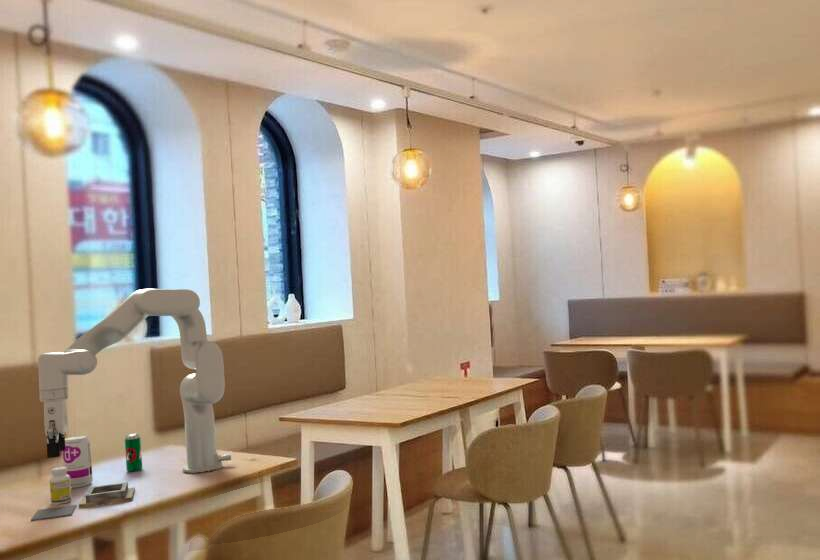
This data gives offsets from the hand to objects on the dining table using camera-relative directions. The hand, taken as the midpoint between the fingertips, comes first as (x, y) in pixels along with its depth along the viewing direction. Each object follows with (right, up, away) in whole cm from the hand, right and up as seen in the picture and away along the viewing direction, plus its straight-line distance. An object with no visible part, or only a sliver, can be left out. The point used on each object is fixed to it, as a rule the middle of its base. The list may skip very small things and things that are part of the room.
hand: (56, 454), depth 218 cm
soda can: (+10, -14, +35) cm, 39 cm away
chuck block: (+15, -13, 0) cm, 20 cm away
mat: (+5, -14, -11) cm, 18 cm away
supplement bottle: (+1, -14, 0) cm, 14 cm away
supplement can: (-2, -15, +20) cm, 25 cm away
